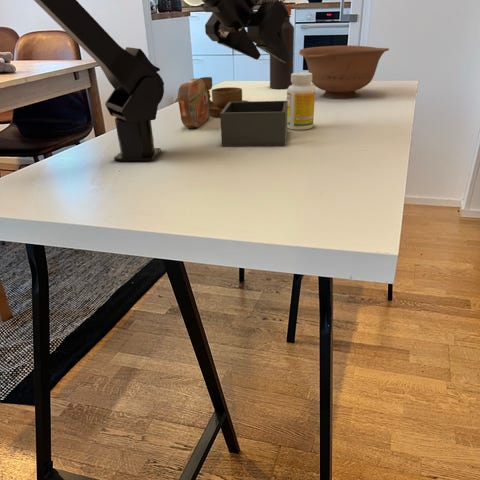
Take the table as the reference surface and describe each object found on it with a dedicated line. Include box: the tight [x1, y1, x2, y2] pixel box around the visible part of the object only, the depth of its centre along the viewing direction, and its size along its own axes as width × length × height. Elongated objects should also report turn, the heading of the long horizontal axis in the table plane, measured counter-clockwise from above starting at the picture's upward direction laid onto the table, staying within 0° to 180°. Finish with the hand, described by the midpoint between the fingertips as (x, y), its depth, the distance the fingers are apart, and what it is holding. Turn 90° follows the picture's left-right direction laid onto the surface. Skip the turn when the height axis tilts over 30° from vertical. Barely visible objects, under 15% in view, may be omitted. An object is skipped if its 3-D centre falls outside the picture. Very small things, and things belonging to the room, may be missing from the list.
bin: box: [219, 100, 288, 147], centre depth 88 cm, size 11×11×6 cm
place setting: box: [202, 76, 251, 117], centre depth 113 cm, size 18×20×6 cm
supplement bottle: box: [286, 71, 316, 131], centre depth 93 cm, size 5×5×10 cm
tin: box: [177, 77, 211, 129], centre depth 100 cm, size 15×3×8 cm, turn 169°
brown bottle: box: [269, 5, 295, 90], centre depth 135 cm, size 7×7×20 cm
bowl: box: [298, 44, 390, 99], centre depth 122 cm, size 22×22×11 cm
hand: (272, 59), depth 86 cm, fingers open, 9 cm apart
